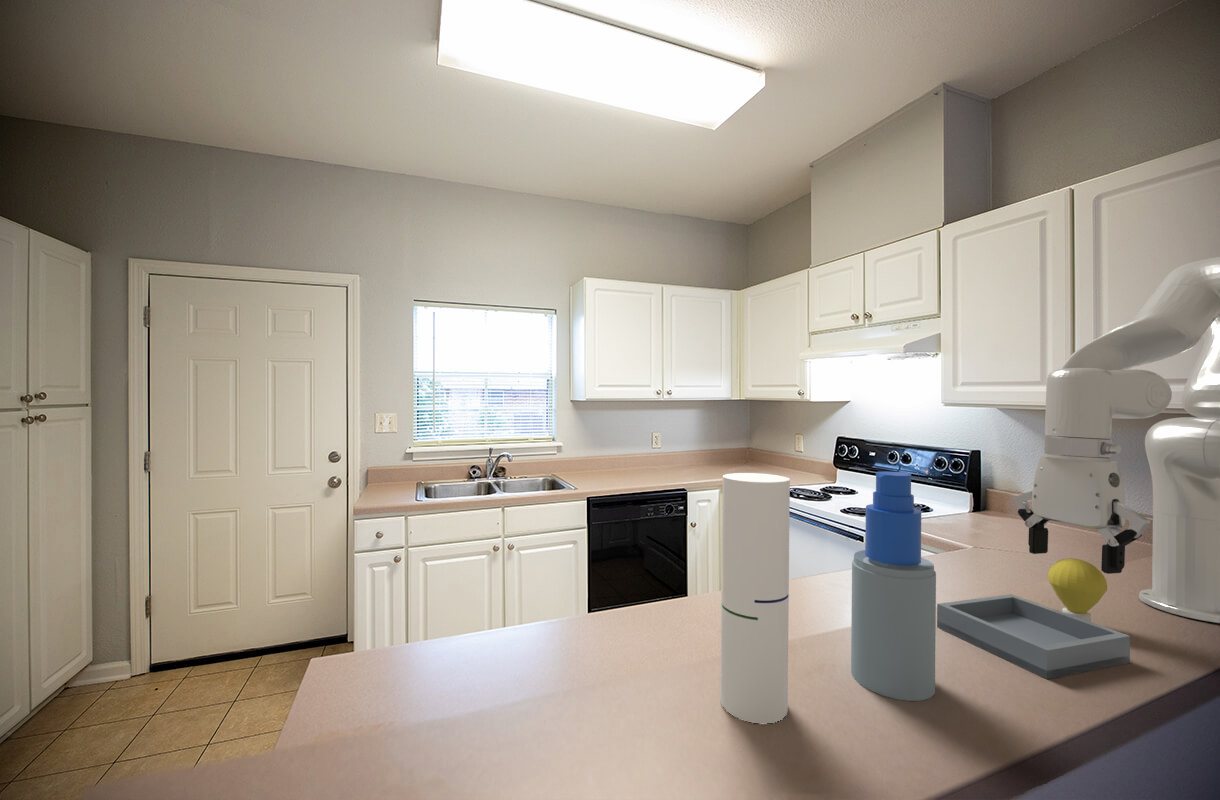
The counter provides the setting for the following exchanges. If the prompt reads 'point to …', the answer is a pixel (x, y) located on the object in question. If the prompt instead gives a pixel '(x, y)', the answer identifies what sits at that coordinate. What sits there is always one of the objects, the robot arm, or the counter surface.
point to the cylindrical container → (755, 596)
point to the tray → (1034, 635)
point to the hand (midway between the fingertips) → (1072, 562)
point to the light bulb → (1077, 586)
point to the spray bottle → (893, 598)
